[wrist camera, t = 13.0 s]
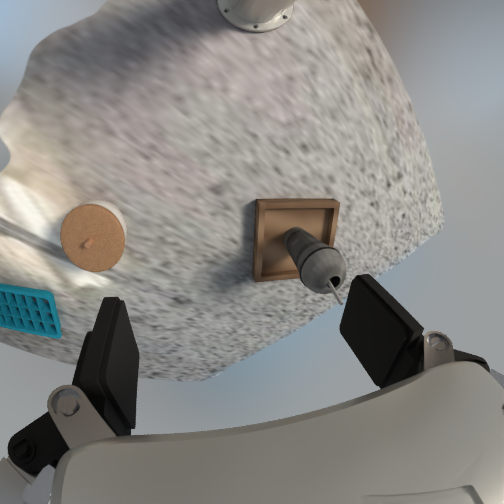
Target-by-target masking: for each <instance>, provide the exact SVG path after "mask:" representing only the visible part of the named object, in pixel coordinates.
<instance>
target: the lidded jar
mask: <svg viewBox="0 0 504 504" xmlns="http://www.w3.org/2000/svg"><path fill="white" fill-rule="evenodd" d="M126 238H127V226H126V221H125V219H124V217H123V215H122V213H121V212H120V210H119V209H118V208H117V207H116V206H114V205H113V204H111V203H109V202H107V201H104V200H91V201H87V202H85V203H83V204H81V205H79V206H78V207H76V208H75V209H73V210H72V211H71V212H70V213H69V214H68V215H67V216H66V218H65V219H64V221H63V223H62V227H61V243H62V247H63V249H64V251H65V253H66V255H67V256H68V258H69V259H70V260H71V261H72V262H73V263H74V264H75V265H77V266H78V267H79V268H82V269H84V270H87V271H91V272H101V271H105V270H108V269H110V268H112V267H113V266H114V265H115V264H116V263H117V262H118V261H119V259H120V258H121V256H122V253H123V251H124V247H125V243H126Z"/></svg>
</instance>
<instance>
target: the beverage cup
mask: <svg viewBox="0 0 504 504" xmlns="http://www.w3.org/2000/svg"><path fill="white" fill-rule="evenodd" d="M284 244H285V246H286V249H287V251H288V252H289V254H290V256H291V258H292V260H293V262H294V263H295V265H296V267H297V269H298V272H299V275H300V279H301V281H302V283H303V284H304V285H305V286H306V287H308V288H309V289H310V290H312V291H314V292H316V293H320V294H327V293H332V292H333V294H334V295H335V297H336V299H337V301H338V302H339V304H340V305H343V302H342V300H341V298H340V297H339V295H338V293H337V292H336V290H337V289H338V288H340V286H341V285H342V284H343V282H344V280H345V278H346V264H345V261H344V259H343V258H342V256H341V254H340V252H339V251H338V250H336V249H335V248H332V247H330V246H328V245H325V244H324V243H323V242H321V241H320V240H318V239H317V238H316V237H314V236H313V235H311V234H310V233H308V232H307V231H306V230H304V229H302V228H300V227H293V228H290V229H289V230H288V231H287V232H286V233H285V235H284Z"/></svg>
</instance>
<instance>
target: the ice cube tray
mask: <svg viewBox="0 0 504 504" xmlns="http://www.w3.org/2000/svg"><path fill="white" fill-rule="evenodd" d="M4 292H5V295H6V297H5V296H4ZM12 293H14V295H15V298H14V297H13V294H12ZM22 295H25V299H26V300H23V297H22ZM32 297H36V301H37V302H34V301H33V298H32ZM43 298H44V299H46V300H48V302H49V304H47V303H44V301H43ZM7 305H9V308H8V306H7ZM17 307H18V308H19V310H18V309H17ZM26 309H29V311H26ZM36 310H37V311H40V313H37V312H36ZM47 312H50V313H52V315H47ZM11 316H12V317H13V319H12V317H11ZM20 318H22V320H23V321H21V320H20ZM30 320H32V322H33V323H30ZM40 322H43V325H41V324H40ZM50 324H55V327H53V326H50ZM0 327H4V328H8V329H12V330H17V331H21V332H26V333H31V334H36V335H41V336H46V337H52V338H57V339H58V338H61V335H62V334H61V330H60V327H61V324H60V321H59V317H58V313H57V309H56V305H55V301H54V296H53V294H52V293H51V292H49V291H46V290H39V289H32V288H25V287H19V286H12V285H6V284H0Z"/></svg>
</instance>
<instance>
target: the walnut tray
mask: <svg viewBox="0 0 504 504" xmlns="http://www.w3.org/2000/svg"><path fill="white" fill-rule="evenodd" d="M339 207H340V202H338V201H336V200H335V199H256V211H255V234H254V256H253V277H254V280H255V282H264V281H274V280H285V279H294V278H300V275H299V272H298V269H297V267H296V265H295V263H294V262H293V260H292V258H291V256H290V254H289V252H288V251H287V249H286V246H285V244H284V235H285V233H286V232H287V231H288V230H289V229H290V228H293V227H300V228H302V229H304V230H306V231H307V232H308V233H310V234H311V235H313V236H314V237H316V238H317V239H318V240H320V241H321V242H323V243H324V244H325V245H328V246H330V247H332V248H333V245H334V239H335V233H336V227H337V220H338V214H339Z"/></svg>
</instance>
